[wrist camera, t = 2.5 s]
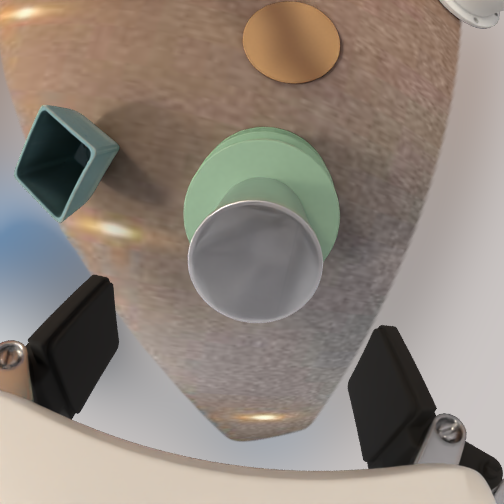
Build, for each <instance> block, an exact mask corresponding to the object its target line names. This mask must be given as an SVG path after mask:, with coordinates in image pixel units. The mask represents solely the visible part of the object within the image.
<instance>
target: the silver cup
mask: <svg viewBox="0 0 504 504" xmlns="http://www.w3.org/2000/svg"><path fill="white" fill-rule="evenodd" d="M188 268H189V273H190V277H191V280H192V282H193V285H194V287H195V288H196V290H197V292H198V293H199V295H200V296H201V297H202V299H203V300H204V301H205V302H206V303H207V304H208V305H209V306H211V307H212V308H213V309H214V310H216V311H218V312H219V313H221V314H223V315H225V316H227V317H229V318H232V319H235V320H238V321H242V322H249V323H265V322H272V321H276V320H279V319H282V318H285V317H287V316H289V315H291V314H293V313H294V312H296V311H298V310H299V309H300V308H301V307H303V306H304V305H305V304H306V303H307V302H308V301H309V300H310V298H311V297H312V296H313V294H314V293H315V291H316V289H317V287H318V285H319V282H320V279H321V275H322V270H323V256H322V251H321V246H320V244H319V241H318V239H317V236H316V234H315V232H314V230H313V229H312V227H311V226H310V224H309V222H308V220H307V217H306V214H305V212H304V209H303V206H302V204H301V202H300V200H299V198H298V196H297V195H296V194H295V193H294V191H293V190H292V189H291V188H289V187H288V186H287V185H285V184H284V183H282V182H280V181H277V180H275V179H271V178H265V177H256V178H250V179H247V180H244V181H242V182H240V183H238V184H236V185H235V186H234V187H232V188H231V189H230V190H229V191H228V192H227V193H226V195H225V196H224V198H223V199H222V200H221V202H220V203H219V204H218V206H217V207H216V208H215V210H214V211H213V212H212V213H210V214H209V215H208V216H207V217H206V218H205V219H204V220H203V222H202V223H201V224H200V225H199V227H198V228H197V230H196V231H195V233H194V235H193V238H192V240H191V243H190V246H189V252H188Z"/></svg>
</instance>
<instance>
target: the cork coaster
mask: <svg viewBox="0 0 504 504" xmlns="http://www.w3.org/2000/svg"><path fill="white" fill-rule="evenodd" d="M243 47H244V51H245V53H246V56H247V58H248V60H249V61H250V62H251V64H252V65H253V66H254V67H255V68H256V69H257V70H258V71H259V72H260V73H262V74H263V75H265V76H267V77H269V78H271V79H273V80H276V81H279V82H283V83H290V84H299V83H306V82H310V81H313V80H316V79H318V78H320V77H322V76H323V75H324V74H326V73H327V72H328V71H329V70H330V69H331V68H332V67H333V66H334V64H335V62H336V61H337V58H338V56H339V52H340V39H339V35H338V32H337V30H336V28H335V26H334V24H333V23H332V22H331V21H330V19H329V18H328V17H327V16H326V15H324V14H323V13H322V12H321V11H319V10H317V9H316V8H314V7H312V6H309V5H306V4H303V3H299V2H278V3H273V4H270V5H268V6H265V7H263V8H262V9H260V10H259V11H257V12H256V13H255V14H254V15H253V16H252V17H251V18H250V19H249V21H248V22H247V24H246V26H245V29H244V32H243Z"/></svg>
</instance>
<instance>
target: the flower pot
mask: <svg viewBox="0 0 504 504" xmlns="http://www.w3.org/2000/svg"><path fill="white" fill-rule="evenodd" d="M85 146H87V147H85ZM118 150H119V145H118V144H117V143H116V142H115V141H114V140H112V139H111V138H110V137H109V136H108V135H106V134H105V133H104V132H103V131H102V130H100V129H99V128H98V127H97V126H96V125H94V124H93V123H92V122H91V121H90V120H89V119H87V118H86V117H85V116H83V115H82V114H80V113H79V112H77V111H74V110H71V109H67V108H62V107H56V106H49V105H42V106H41V108H40V110H39V111H38V114H37V116H36V118H35V120H34V123H33V125H32V128H31V130H30V132H29V135H28V137H27V139H26V142H25V144H24V147H23V150H22V152H21V155H20V157H19V160H18V163H17V165H16V168H15V172H14V177H15V179H16V180H17V181H18V182H19V183H20V184H21V185H22V186H23V187H24V188H25V189H26V190H27V191H28V193H29V194H31V196H32V197H33V198H34V199H35V200H36V201H37V202H38V203H39V204H40V205H41V206H42V207H43V208H44V209H45V210H46V211H47V212H48V213H49V214H50V215H51V216H52V217H53V218H54V219H55V220H56V221H57V222H59V223H62V222H63V221H64V220H65V219H67V218H68V217H69V216H70V215H72V214H73V213H74V212H75V211H76V210H78V209H79V208H80V207H81V206H83V205H84V204H85V203H86V202H87V201H88V200H89V198H90V197H91V196H92V194H93V193H94V191H95V189H96V188H97V186H98V184H99V182H100V180H101V179H102V177H103V175H104V173H105V172H106V170H107V168H108V167H109V165H110V163H111V162H112V160H113V158H114V157H115V155H116V154H117V152H118ZM87 162H88V163H87Z"/></svg>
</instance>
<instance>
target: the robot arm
mask: <svg viewBox="0 0 504 504" xmlns="http://www.w3.org/2000/svg"><path fill="white" fill-rule="evenodd" d="M439 1H440V2H441V3H442V4H443V5H444V6H445V7H446V8H447V9H448V10H449V11H450V12H451V13H452V14H454V15H455V16H456V17H457V18H459V19H460V20H462V21H463V22H465V23H467V24H469V25H471V26H473V27H476V28H481V29H486V28H490V27H492V26H494V25H495V24H497V22H498V20H499V14H500V11H503V10H504V0H439ZM28 342H29V343H28V344H27V345H26V346H24V344H22V343H20V342H19V341H14V340H10V341H9V340H8V341H5V342H2V343H0V504H504V479H503V480H502V476H503V471H502V467H501V465H500V463H499V462H498V461H497V460H496V459H495V458H494V457H492V456H490V455H488V454H487V453H485V452H483V451H481V450H480V449H478V448H476V447H475V446H473V445H471V444H469V443H468V442H466V441H465V440H466V429H465V427H464V425H463V423H462V422H461V421H460V420H459V419H458V418H457V417H455V416H453V415H450V414H445V413H443V414H439V415H437V416H436V415H435V410H436V409H437V408H436V406H435V404H434V401H433V399H432V397H431V395H430V393H429V391H428V388H427V387H426V384H425V382H424V380H423V378H422V376H421V374H420V372H419V370H418V368H417V366H416V364H415V362H414V360H413V358H412V356H411V354H410V352H409V350H408V349H407V346H406V345H405V343H404V341H403V339H402V337H401V335H400V333H399V331H398V330H397V328H396V327H394V326H384V325H381V326H379V328H378V329H375V330H374V331H373V333H372V335H371V337H370V340H369V342H368V344H367V346H366V348H365V350H364V352H363V354H362V356H361V358H360V360H359V362H358V364H357V366H356V368H355V370H354V372H353V374H352V376H351V377H350V379H349V382H348V392H349V396H350V400H351V404H352V409H353V413H354V418H355V422H356V427H357V431H358V436H359V441H360V446H361V451H362V456H363V460H364V461H365V462H367V464H368V469H362V470H344V471H294V470H277V469H264V468H254V467H245V466H237V465H230V464H223V463H217V462H211V461H206V460H201V459H196V458H191V457H186V456H182V455H177V454H173V453H169V452H165V451H161V450H157V449H154V448H150V447H147V446H143V445H139V444H136V443H133V442H130V441H127V440H124V439H121V438H118V437H115V436H112V435H109V434H107V433H104V432H101V431H99V430H96V429H94V428H91V427H89V426H86V425H83V424H81V423H78V422H76V421H73V420H72V418H73V416H74V415H75V413H77V414H78V413H80V411H81V410H82V408H83V406H84V404H85V403H86V401H87V399H88V397H89V396H90V394H91V392H92V391H93V389H94V387H95V385H96V384H97V382H98V380H99V379H100V377H101V375H102V374H103V372H104V370H105V369H106V367H107V365H108V364H109V362H110V360H111V359H112V357H113V355H114V354H115V352H116V350H117V349H118V345H119V338H118V330H117V321H116V311H115V301H114V288H113V284H112V283H110V281H109V279H108V278H107V277H102V276H98V275H92V276H91V277H90V278H89V279H88V280H87V281H86V282H84V283H83V284H82V285H81V286H80V287H79V288H78V289H77V290H76V291H75V292H74V293H73V294H72V295H71V296H70V297H69V298H68V299H67V300H66V301H65V302H64V303H63V304H62V305H61V306H60V307H59V308H58V309H57V310H56V311H55V312H54V313H53V314H52V315H51V316H50V317H49V318H48V319H47V320H46V321H45V322H44V323H43V324H42V325H41V326H40V327H39V328H38V329H37V330H36V331H35V332H34V334H33V335H32V336H31V337H30V338H29V339H28Z"/></svg>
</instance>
